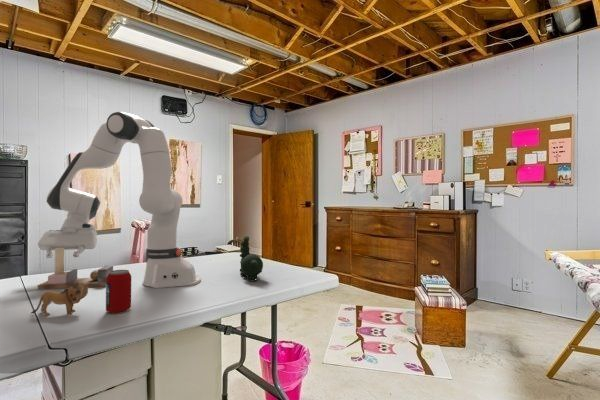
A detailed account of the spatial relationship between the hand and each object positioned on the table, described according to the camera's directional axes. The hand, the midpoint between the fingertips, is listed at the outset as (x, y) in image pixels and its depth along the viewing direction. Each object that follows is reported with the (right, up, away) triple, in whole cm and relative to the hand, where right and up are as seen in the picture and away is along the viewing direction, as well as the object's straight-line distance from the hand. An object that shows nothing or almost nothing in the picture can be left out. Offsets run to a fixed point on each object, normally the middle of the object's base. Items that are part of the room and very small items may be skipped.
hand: (62, 256), depth 132 cm
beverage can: (+39, -11, -31) cm, 52 cm away
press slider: (+2, -9, -2) cm, 10 cm away
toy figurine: (+72, -12, +15) cm, 75 cm away
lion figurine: (+24, -11, -33) cm, 43 cm away
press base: (+7, -11, -1) cm, 13 cm away
